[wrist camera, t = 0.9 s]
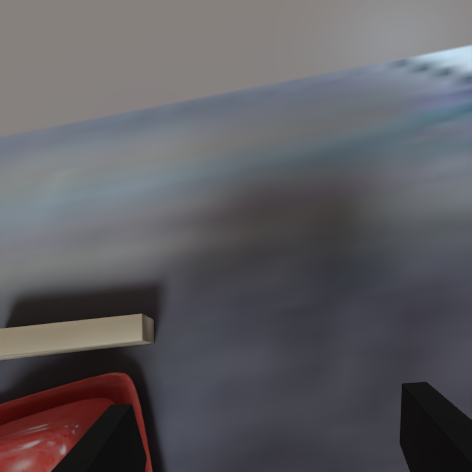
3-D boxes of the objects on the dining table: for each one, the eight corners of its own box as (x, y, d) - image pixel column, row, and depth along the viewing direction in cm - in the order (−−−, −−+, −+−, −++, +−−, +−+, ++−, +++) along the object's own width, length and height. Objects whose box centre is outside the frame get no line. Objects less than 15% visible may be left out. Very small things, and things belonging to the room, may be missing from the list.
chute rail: (154, 343, 22) (142, 340, 20) (-2, 360, 22) (-37, 359, 19) (153, 319, 23) (142, 313, 20) (1, 336, 23) (-33, 332, 20)
